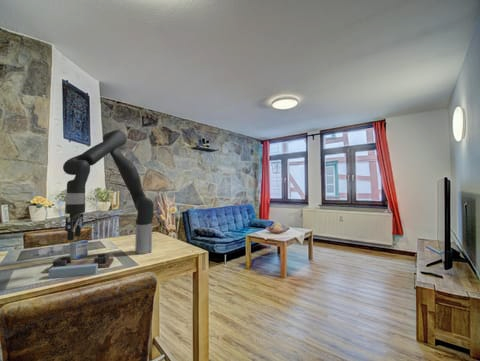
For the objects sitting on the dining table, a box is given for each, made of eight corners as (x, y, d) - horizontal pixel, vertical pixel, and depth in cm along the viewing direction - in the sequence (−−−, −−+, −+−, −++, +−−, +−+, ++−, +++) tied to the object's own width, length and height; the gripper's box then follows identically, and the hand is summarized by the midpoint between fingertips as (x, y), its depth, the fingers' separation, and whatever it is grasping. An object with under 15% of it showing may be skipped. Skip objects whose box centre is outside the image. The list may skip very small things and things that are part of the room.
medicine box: (75, 259, 126) (76, 243, 126) (69, 258, 126) (69, 243, 127) (88, 255, 133) (88, 240, 133) (81, 254, 134) (81, 239, 134)
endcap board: (113, 260, 124) (113, 252, 124) (109, 267, 114) (109, 258, 114) (55, 265, 116) (56, 256, 116) (46, 273, 106) (46, 263, 106)
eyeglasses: (63, 250, 144) (64, 244, 144) (71, 253, 141) (72, 246, 141) (36, 256, 131) (37, 249, 131) (44, 259, 128) (45, 252, 128)
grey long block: (97, 271, 109) (98, 263, 109) (95, 274, 106) (95, 265, 106) (52, 276, 103) (52, 267, 104) (48, 279, 100) (48, 270, 100)
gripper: (79, 204, 100) (78, 241, 99) (89, 201, 113) (88, 234, 113) (58, 204, 98) (57, 242, 97) (72, 201, 111) (70, 235, 111)
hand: (74, 238), depth 105 cm, fingers open, 8 cm apart
